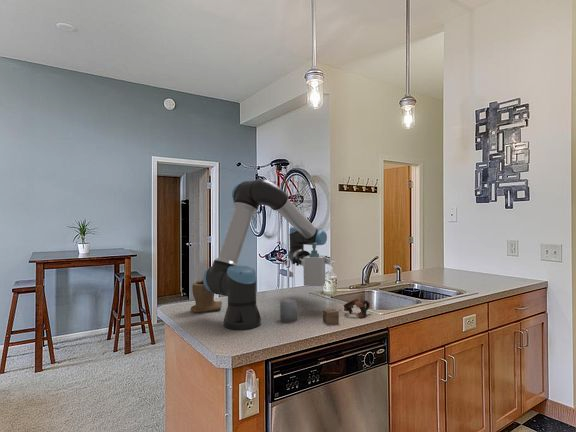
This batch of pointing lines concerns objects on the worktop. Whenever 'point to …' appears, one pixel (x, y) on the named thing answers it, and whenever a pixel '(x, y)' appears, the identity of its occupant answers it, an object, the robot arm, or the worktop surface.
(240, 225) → the robot arm
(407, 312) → the worktop surface
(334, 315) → the walnut block
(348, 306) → the brown arched figurine
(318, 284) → the soap bottle
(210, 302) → the brown boot
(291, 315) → the slate grey tub
